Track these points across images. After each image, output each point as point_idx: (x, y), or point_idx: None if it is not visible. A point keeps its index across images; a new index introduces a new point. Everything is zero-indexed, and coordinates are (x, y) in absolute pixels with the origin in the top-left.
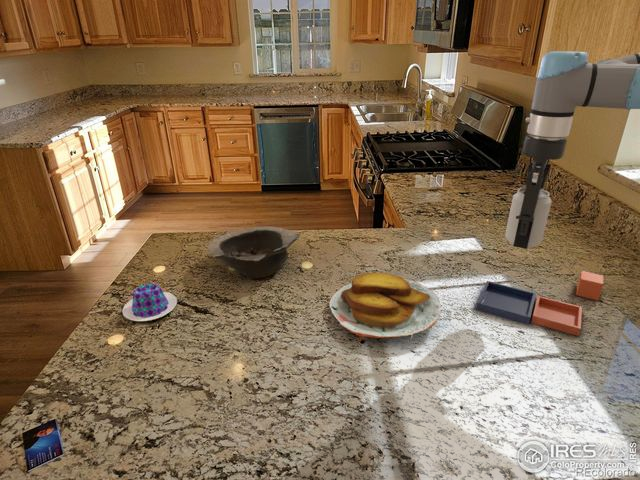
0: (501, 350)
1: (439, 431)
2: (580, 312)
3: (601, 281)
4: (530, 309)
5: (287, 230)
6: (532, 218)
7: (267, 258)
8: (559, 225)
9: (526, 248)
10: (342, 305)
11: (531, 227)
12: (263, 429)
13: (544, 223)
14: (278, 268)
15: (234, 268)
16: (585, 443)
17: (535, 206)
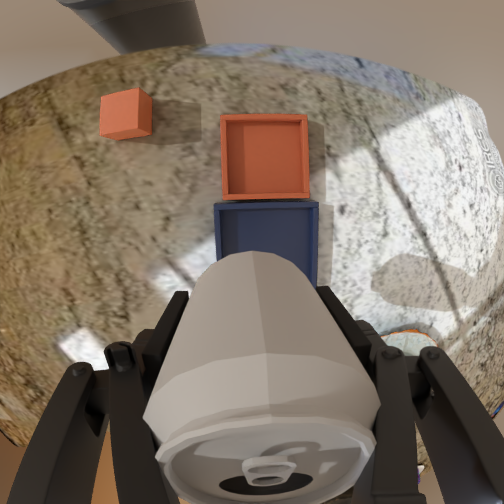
0: (399, 230)
1: (499, 258)
2: (245, 116)
3: (129, 92)
4: (289, 205)
5: None
6: (446, 354)
7: (345, 492)
8: None
9: (328, 287)
10: None
11: (357, 327)
12: (500, 355)
13: (292, 289)
14: None
15: None
16: (476, 135)
17: (463, 392)
